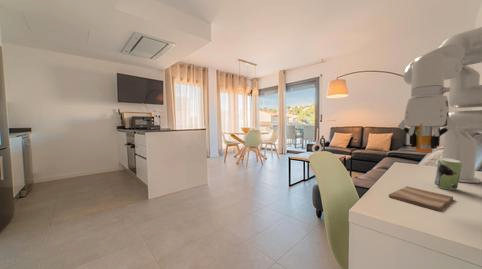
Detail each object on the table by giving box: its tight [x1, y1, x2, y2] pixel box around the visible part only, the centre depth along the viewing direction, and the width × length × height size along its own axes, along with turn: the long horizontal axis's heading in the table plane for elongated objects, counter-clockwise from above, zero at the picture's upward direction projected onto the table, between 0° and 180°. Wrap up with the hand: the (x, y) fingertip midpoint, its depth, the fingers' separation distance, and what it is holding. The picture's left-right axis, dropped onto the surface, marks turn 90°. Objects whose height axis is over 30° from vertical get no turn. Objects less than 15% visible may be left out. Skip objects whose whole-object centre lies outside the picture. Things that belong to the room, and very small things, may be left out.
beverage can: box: [434, 157, 462, 191], centre depth 71 cm, size 6×7×12 cm
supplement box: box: [415, 124, 433, 154], centre depth 61 cm, size 3×3×10 cm
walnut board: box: [388, 186, 454, 212], centre depth 62 cm, size 16×12×1 cm
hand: (423, 146), depth 61 cm, fingers closed on supplement box, 4 cm apart
